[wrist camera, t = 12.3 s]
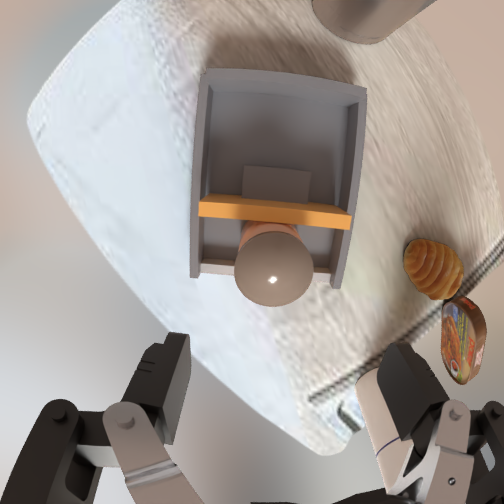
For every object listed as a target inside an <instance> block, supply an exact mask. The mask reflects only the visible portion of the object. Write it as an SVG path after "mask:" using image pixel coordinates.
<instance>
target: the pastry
mask: <svg viewBox="0 0 504 504" xmlns="http://www.w3.org/2000/svg"><path fill="white" fill-rule="evenodd" d="M403 262H404V270H405V271H406V272H407V274H408V275H409V278H410V280H411V281H412V282H413V283H414V284H415V286H416V288H417V290H418V291H419V292H422V293H424V294H426V295H428V296H429V298H430V299H431V300H443V299H449V298H451V297H452V296H453V295H454V294H455V293H456V292H457V290H458V289H459V287H460V286H461V282H462V278H463V276H464V268H463V265H462V262H461V260H460V259H459V258H458V255H457V254H456V252H455V251H454V250H452V249H450V248H449V247H448V246H447V245H445V244H441V243H437V242H434V241H430V240H426V239H415V240H413V241H411V242H410V243H409V245H408V247H407V248H406V250H405V253H404V258H403Z"/></svg>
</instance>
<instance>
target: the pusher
mask: <svg viewBox="0 0 504 504" xmlns="http://www.w3.org/2000/svg"><path fill="white" fill-rule="evenodd" d="M310 179H311V172H310V171H304V170H296V169H287V168H278V167H268V166H257V165H244V172H243V184H242V195H229V194H214V193H209V194H208V195H206V196H205V197H204V198H203V199H201V200H200V201H199V213H198V216H201V217H215V218H229V219H241V220H254V221H265V222H276V223H287V224H298V225H308V226H317V227H327V228H336V229H345V230H350V224H351V218H352V216H351V215H350V214H348V213H347V212H345V211H344V210H342V209H341V208H339V207H338V206H336V205H330V204H322V203H314V202H308V196H309V188H310Z"/></svg>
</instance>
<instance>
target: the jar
mask: <svg viewBox="0 0 504 504" xmlns="http://www.w3.org/2000/svg"><path fill="white" fill-rule="evenodd" d="M313 272H314V267H313V261H312V258H311V256H310V253H309V251H308V249H307V248H306V246H305V245H304V244H303V242H302V240H301V238H300V236H299V234H298V232H297V229H296V227H295V225H294V224H287V223H276V222H265V221H254V220H247V222H246V223H245V225H244V227H243V229H242V232H241V238H240V244H239V250H238V254H237V257H236V260H235V266H234V277H235V281H236V284H237V286H238V288H239V290H240V291H241V292H242V294H243V295H244V296H245V297H247V298H248V299H249V300H251V301H252V302H254V303H257V304H259V305H263V306H269V307H276V306H282V305H286V304H289V303H291V302H293V301H295V300H297V299H298V298H299V297H301V296H302V295H303V294H304V293H305V291H306V290H307V289H308V287H309V285H310V283H311V281H312V278H313Z"/></svg>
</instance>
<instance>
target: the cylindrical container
mask: <svg viewBox="0 0 504 504" xmlns="http://www.w3.org/2000/svg"><path fill="white" fill-rule="evenodd" d="M378 369H379V367H378V368H375V369H373V370H371V371H369V372H367V373H366V374H364V375H363V376H362V377H361V378H360V379H359V380H358V381H357V383H356V385H355V388H354V391H355V394H356V397H357V400H358V403H359V406H360V409H361V412H362V415H363V418H364V421H365V424H366V427H367V430H368V433H369V435H370V439H371V441H372V445H373V448H374V451H375V454H376V458H377V461H378V464H379V468H380V471H381V474H382V478H383V481H384V485H385V489H386V492H387V493H388V491H389V490H390V489H391V488H392V486H393V485H394V484H395V482H396V480H397V478H398V476H399V473H400V471H401V469H402V466H403V464H404V461H405V458H406V456H407V453H408V450H409V448H410V446H411V444H412V443H413V441H412V439H410V440H407V441H402V442H401V440H400V437H399V434H398V432H397V429H396V427H395V424H394V422H393V419H392V417H391V414H390V412H389V409H388V407H387V405H386V402H385V400H384V398H383V395H382V393H381V390H380V388H379V386H378V383H377V371H378Z"/></svg>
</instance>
